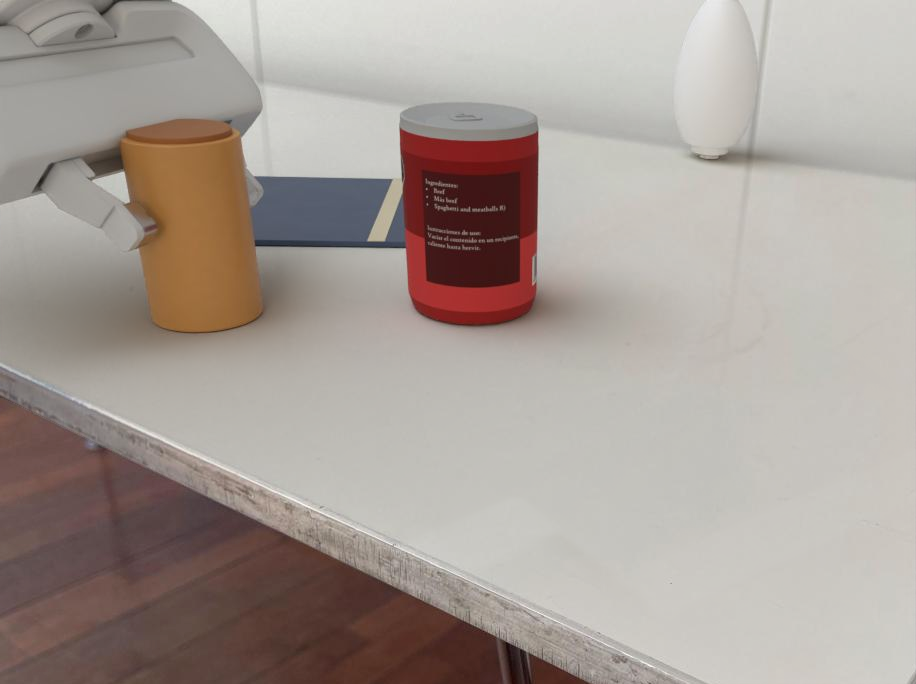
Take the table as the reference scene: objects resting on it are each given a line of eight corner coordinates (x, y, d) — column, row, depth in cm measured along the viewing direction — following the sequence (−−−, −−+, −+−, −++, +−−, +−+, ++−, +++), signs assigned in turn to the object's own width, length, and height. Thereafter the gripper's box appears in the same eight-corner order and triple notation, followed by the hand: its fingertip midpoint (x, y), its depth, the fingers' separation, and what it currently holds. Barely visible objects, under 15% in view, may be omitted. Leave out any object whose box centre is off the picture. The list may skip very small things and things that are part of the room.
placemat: (137, 243, 68) (136, 237, 68) (207, 179, 84) (206, 174, 83) (405, 247, 69) (405, 241, 69) (424, 184, 85) (424, 178, 85)
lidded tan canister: (136, 332, 54) (99, 138, 49) (169, 294, 59) (138, 115, 55) (250, 333, 55) (224, 141, 50) (272, 295, 60) (250, 118, 55)
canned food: (483, 273, 65) (480, 97, 60) (564, 308, 60) (568, 119, 55) (382, 297, 60) (369, 108, 55) (460, 337, 55) (455, 133, 50)
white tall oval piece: (765, 161, 98) (788, -42, 90) (706, 169, 94) (725, -43, 86) (711, 145, 104) (728, -47, 95) (653, 153, 100) (666, -48, 91)
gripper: (-158, -24, 42) (73, 235, 44) (181, -37, 59) (337, 150, 61) (-196, 78, 45) (19, 315, 47) (134, 38, 62) (284, 213, 64)
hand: (200, 221), depth 54 cm, fingers open, 7 cm apart
